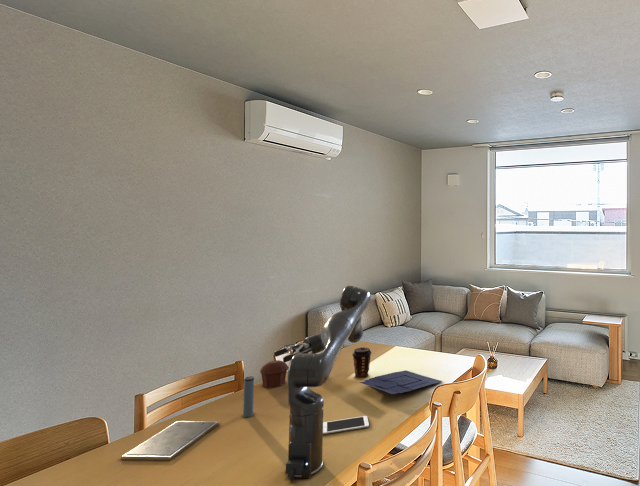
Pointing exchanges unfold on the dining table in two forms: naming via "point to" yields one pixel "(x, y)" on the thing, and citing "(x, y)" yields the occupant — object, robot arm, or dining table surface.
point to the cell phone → (345, 424)
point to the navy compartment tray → (399, 382)
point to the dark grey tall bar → (248, 396)
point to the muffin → (274, 373)
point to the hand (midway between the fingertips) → (278, 357)
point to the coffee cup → (361, 362)
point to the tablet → (170, 441)
